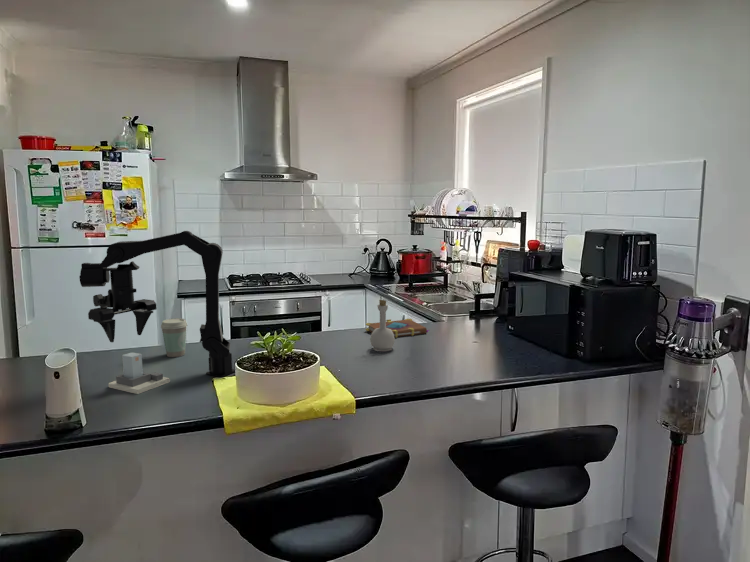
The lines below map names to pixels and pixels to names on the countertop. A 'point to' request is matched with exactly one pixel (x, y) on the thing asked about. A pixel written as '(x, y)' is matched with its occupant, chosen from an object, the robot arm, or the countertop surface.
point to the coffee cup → (174, 336)
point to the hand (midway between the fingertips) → (125, 338)
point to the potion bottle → (382, 332)
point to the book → (400, 327)
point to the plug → (132, 365)
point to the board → (139, 382)
